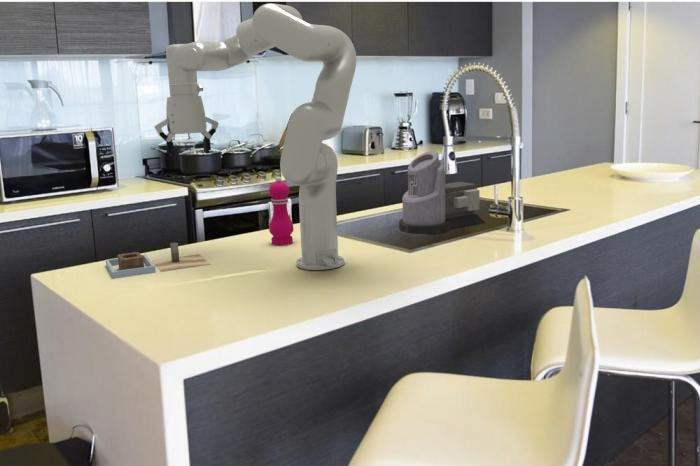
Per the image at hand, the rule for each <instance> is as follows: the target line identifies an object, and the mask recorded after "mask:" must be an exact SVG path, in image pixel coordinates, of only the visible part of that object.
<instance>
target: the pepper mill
mask: <svg viewBox="0 0 700 466" xmlns="http://www.w3.org/2000/svg"><path fill="white" fill-rule="evenodd" d="M274 180H275V181H274V182H272V183H271V184H270V185H269V187H268V194H269V195H270V197H271V199H270V200H271V202H270V203H271V204H272V207H273V208H272V209H273V211H272V212H273V213H272V217H271V220H270V223H269V226H268V227H269V228H268V231H269V233H270V234H271V236H272V237H271V244H272V245H273V246H288V244H289V245H292V244H293V240H294V239H293V236H292V234H293V232H294V230H295V229H294V224H293V221H292V218H291V217H290V215H289V212H288V203H289V198H288V196H289V195H290V188H289V185H288V184H287V183H286V182H284V181H282V178H281V176H276V177H275V179H274Z"/></svg>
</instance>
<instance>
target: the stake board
mask: <svg viewBox="0 0 700 466" xmlns="http://www.w3.org/2000/svg"><path fill="white" fill-rule="evenodd" d="M169 245H170V246H169V247H170V255H171V256H170V257H168V258H162V259H155V260H154V259H153V260H152V261H151V262H152V263H153V264H154V265H155V267H157V269H158V271H160V272H161V273H163V272H169V271H177V270H183V269H190V268H197V267H203V266H204V267H205V266H210V265H212V264H211V263H210V261H208V260H207V259H205V258H204V257H203V256H202V255H201V254H199V253H198V254H191V255H182V256H180V251H179V250H180V249H179V243H178V242H170V243H169Z"/></svg>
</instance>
